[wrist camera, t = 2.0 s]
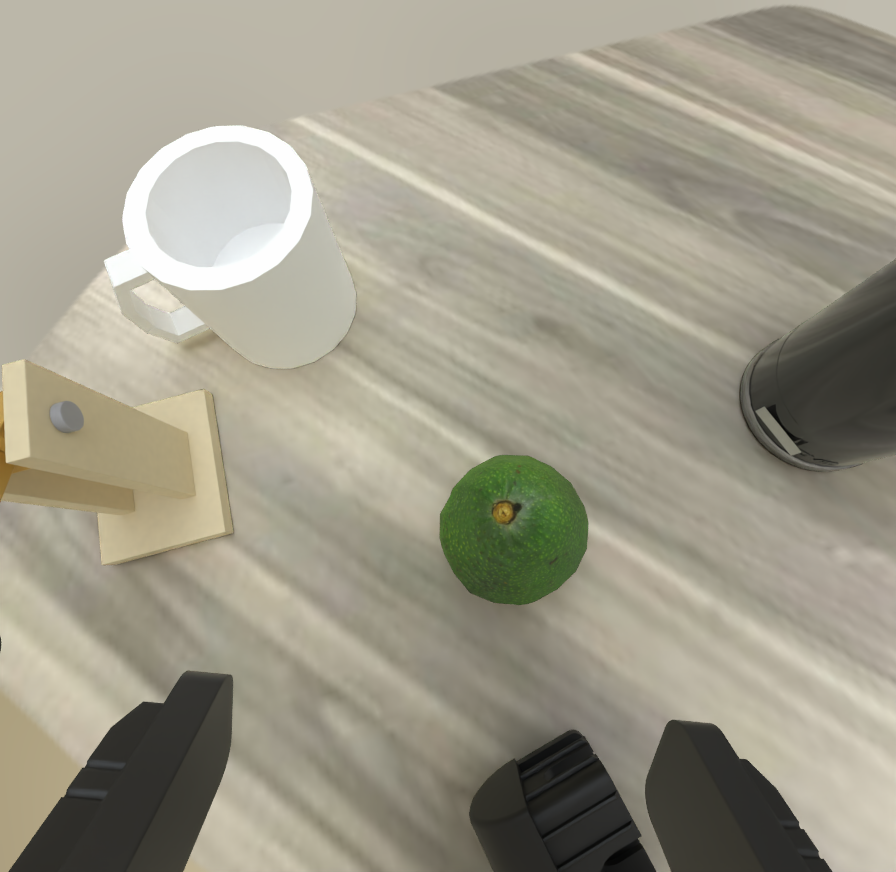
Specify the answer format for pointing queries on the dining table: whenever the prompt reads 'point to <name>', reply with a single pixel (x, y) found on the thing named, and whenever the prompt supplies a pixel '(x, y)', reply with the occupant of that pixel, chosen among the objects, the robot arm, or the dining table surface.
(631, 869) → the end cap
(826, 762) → the dining table surface
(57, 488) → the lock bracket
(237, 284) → the mug
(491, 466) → the avocado
